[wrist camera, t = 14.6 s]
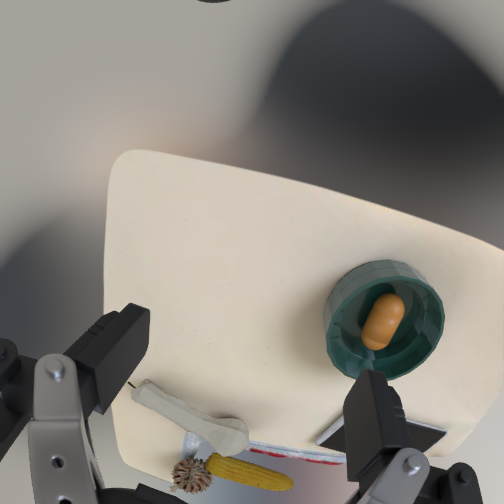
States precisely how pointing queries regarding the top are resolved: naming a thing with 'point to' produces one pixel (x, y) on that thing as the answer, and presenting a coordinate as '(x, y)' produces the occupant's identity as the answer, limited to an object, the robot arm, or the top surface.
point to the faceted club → (195, 420)
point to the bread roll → (382, 321)
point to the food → (247, 473)
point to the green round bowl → (359, 307)
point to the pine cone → (191, 476)
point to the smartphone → (419, 432)
